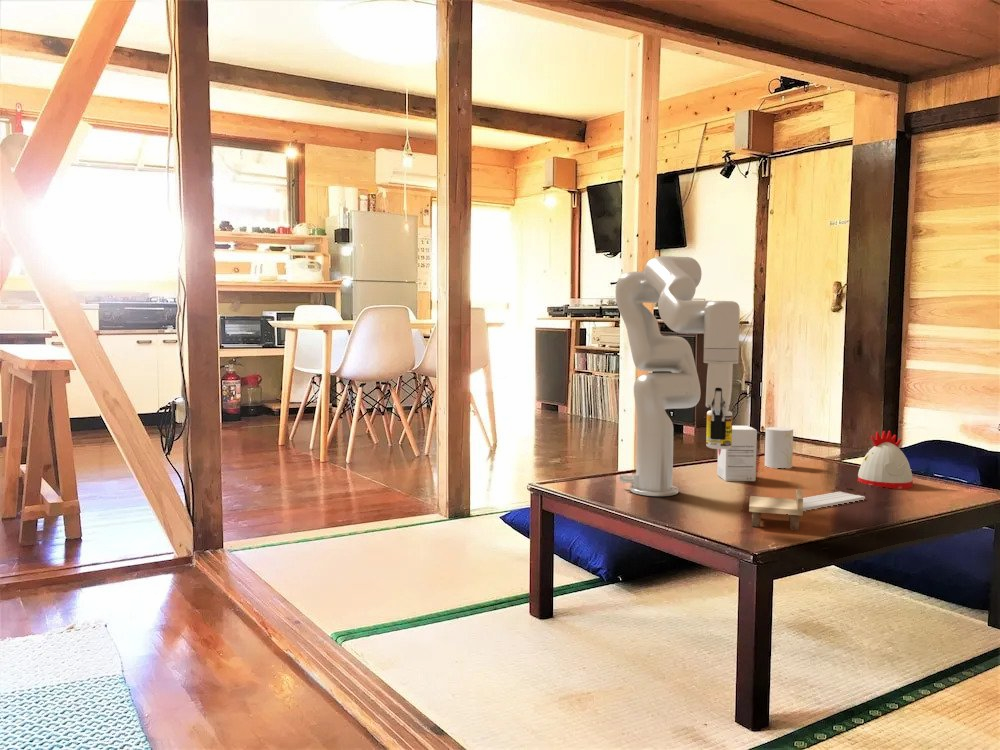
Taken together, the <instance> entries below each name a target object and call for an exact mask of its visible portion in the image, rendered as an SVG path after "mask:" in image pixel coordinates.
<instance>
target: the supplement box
mask: <svg viewBox="0 0 1000 750" xmlns="http://www.w3.org/2000/svg"><path fill="white" fill-rule="evenodd" d="M757 438H758V430H757V429H755V428H754V427H752V426H750V425H732V445H731V448H729V449H717V467H716V468H717V471H716V472H717V473H716V475H717V476H718V477H719V478H721V480H723V481H725V482H756V480H757V479H756V478H757V447H758V443H757V442H758V439H757Z"/></svg>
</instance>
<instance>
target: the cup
mask: <svg viewBox="0 0 1000 750" xmlns="http://www.w3.org/2000/svg"><path fill="white" fill-rule="evenodd" d="M793 442H794V429H793V428H791V427H782V426H781V427H780V426H772V427H771V426H769V427H765V441H764V447H765V448H764V467H765V466H767V467H770V468H769V469H772V468H791V467H792V468H793V456H794V455H793V452H794V451H793V450H794V448H793V446H794V443H793ZM767 467H766V468H767ZM792 468H791V469H792Z"/></svg>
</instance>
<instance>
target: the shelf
mask: <svg viewBox="0 0 1000 750" xmlns="http://www.w3.org/2000/svg"><path fill="white" fill-rule="evenodd" d="M803 498H804V497H803V492H802V489H801V488H796V489H795V498H784V497H768V496H767V497H766V496H755V495H749V505H748V508H749V509H748V512H750V513H751V527H752V526H755V527H754V528H760V527H761V513H763V514H778V515H786V514H788V521H789V522H790V523H789V529H790V530H791V529H793V530H792V531H799V530H800V516H804V515H803V514H804V512H803ZM759 526H760V527H759Z"/></svg>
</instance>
